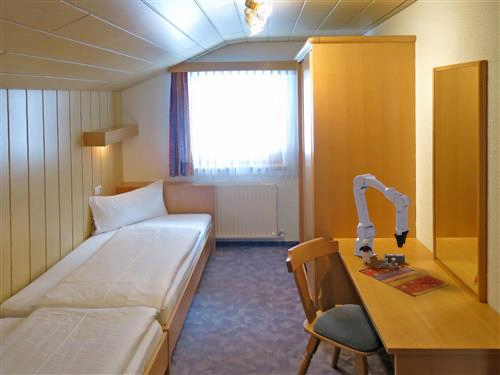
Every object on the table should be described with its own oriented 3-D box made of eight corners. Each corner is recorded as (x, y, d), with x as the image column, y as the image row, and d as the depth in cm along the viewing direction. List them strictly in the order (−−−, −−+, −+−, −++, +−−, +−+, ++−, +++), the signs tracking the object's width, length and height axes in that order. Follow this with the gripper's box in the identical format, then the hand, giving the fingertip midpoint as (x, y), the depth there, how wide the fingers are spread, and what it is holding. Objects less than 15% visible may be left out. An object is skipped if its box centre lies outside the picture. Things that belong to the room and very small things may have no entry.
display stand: (375, 267, 265) (375, 260, 264) (374, 264, 271) (374, 256, 270) (398, 268, 263) (398, 260, 262) (397, 264, 269) (397, 257, 268)
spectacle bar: (384, 263, 273) (384, 255, 272) (384, 261, 276) (384, 253, 275) (404, 263, 271) (404, 255, 270) (404, 262, 274) (404, 254, 273)
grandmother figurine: (372, 261, 275) (372, 238, 273) (373, 264, 271) (373, 239, 270) (357, 261, 276) (357, 238, 274) (358, 264, 272) (358, 240, 270)
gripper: (407, 223, 259) (407, 250, 261) (412, 217, 272) (411, 242, 274) (393, 222, 262) (392, 248, 264) (398, 216, 275) (397, 241, 277)
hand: (401, 245), depth 269 cm, fingers open, 7 cm apart
